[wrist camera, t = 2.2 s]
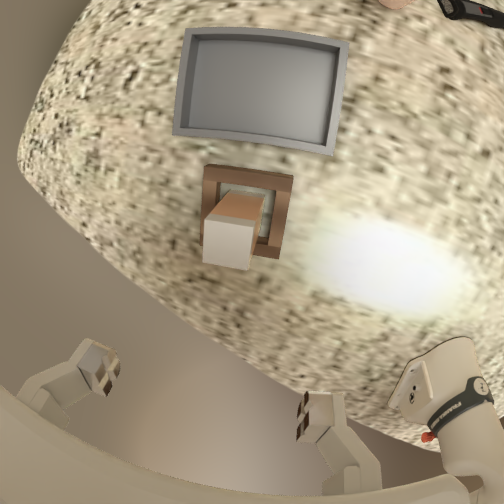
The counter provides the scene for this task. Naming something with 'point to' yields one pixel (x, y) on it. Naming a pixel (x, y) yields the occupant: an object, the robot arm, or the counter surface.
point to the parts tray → (261, 87)
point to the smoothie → (395, 3)
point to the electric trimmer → (472, 12)
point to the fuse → (233, 229)
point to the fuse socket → (254, 179)
